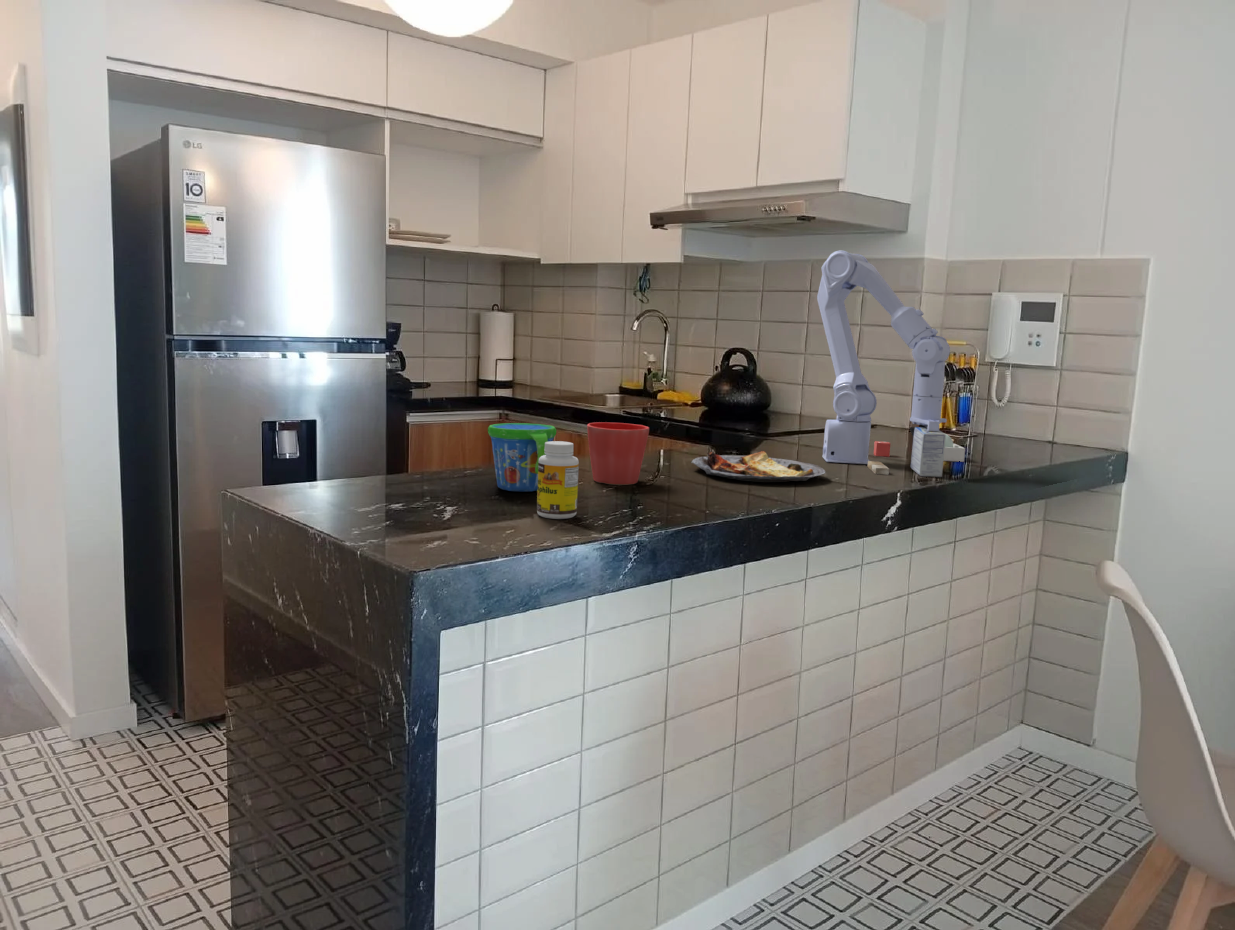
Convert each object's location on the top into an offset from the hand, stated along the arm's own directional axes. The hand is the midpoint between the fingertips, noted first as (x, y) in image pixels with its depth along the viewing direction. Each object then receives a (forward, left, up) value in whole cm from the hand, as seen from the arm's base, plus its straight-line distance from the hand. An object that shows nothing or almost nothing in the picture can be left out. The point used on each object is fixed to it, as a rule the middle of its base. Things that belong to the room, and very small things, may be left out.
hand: (922, 462), depth 189 cm
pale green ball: (+9, +23, -1) cm, 24 cm away
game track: (-9, -4, -2) cm, 10 cm away
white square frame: (+9, +23, -2) cm, 24 cm away
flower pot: (-59, -35, -2) cm, 69 cm away
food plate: (-34, -18, -2) cm, 39 cm away
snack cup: (-73, -48, -2) cm, 88 cm away
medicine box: (0, -5, -2) cm, 5 cm away
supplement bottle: (-64, -67, -2) cm, 93 cm away
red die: (-4, +22, -2) cm, 22 cm away
